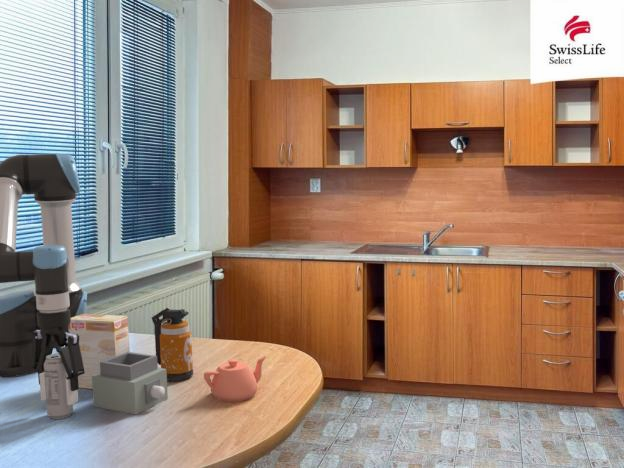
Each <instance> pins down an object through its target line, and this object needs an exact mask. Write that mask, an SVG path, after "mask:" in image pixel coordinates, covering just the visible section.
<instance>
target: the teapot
mask: <svg viewBox="0 0 624 468" xmlns="http://www.w3.org/2000/svg"><path fill="white" fill-rule="evenodd" d="M266 358H267V355H263V356H261V357H259V359H258V360H257V361H256V364H255V369H254V370H253V371H252V369H251V368H250V366H249V365H248V364H247V363H245V362H241V361H239V360H238V359H235V358H233V359H229V360H227V362H224V363H222V364H219V366H218V367H217V369H216V371H215V370H209V371H207V370H206V371H205V372H204V374H203V379H204V381H205V383H206V385H208V387H210V392H211V394H212V395H213V397H214V398H215V399H216V400H217V401H220V402H223V403H239V402H243V401H247V400H250V399H252V398H253V397H254V396H255V395H256V393H257V391H258V383H259V382H260V381H261V377H262V372H263V371H262V366H263V362H264V360H265V359H266ZM211 376H212V379H211Z"/></svg>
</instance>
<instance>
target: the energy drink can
mask: <svg viewBox="0 0 624 468" xmlns="http://www.w3.org/2000/svg"><path fill="white" fill-rule="evenodd" d="M44 376H45V391H46V399H45V402H46V405H45V406H46V414H47V416H49V418H50V419H51V418H53V419H52V420H62V418H63V419H67V418H69V417H70V416H71V415H72V413H73V411H74V403H73V404H71V405H67V392H66V378H67V377H68V375H67V372H66V370H65V367H64V364H63V362H62V359H61V357H60V354H59V353H58V352H56V353H52V354H51V355H48V356H46V360H45V362H44Z"/></svg>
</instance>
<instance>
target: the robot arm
mask: <svg viewBox="0 0 624 468" xmlns="http://www.w3.org/2000/svg"><path fill="white" fill-rule="evenodd" d="M76 165H77V164H76V160H75V158H74V157H73V156H72V155H71V154H67V153H65V154H64V153H47V154H46V153H43V154H40V153H39V154H15V155H12V156H9V157H8V158H6V159H4V160H2V161H1V162H0V284H6V283H16V282H18V283H19V282H31V281H32V282H33V281H34V285H35V286H34V287H35V292H34V291H33V290H21V291H15V292H12V293H11V292H10V293H7V294H4V295H1V296H0V377H1V378H3V377H4V378H5V377H6V378H11V377H20V376H26V375H31V374H33V373H37V376H38V385H39V392H40V401H41V400H42V401H43V400H46V391H45V376H44V362H45V360H46V356H48V355H51V354H53V351H54V349H55V350H56V353H59V354H60V357H61V359H62V362H63V364H64V367H65V370H66V372H67V375H68V377H67V378H66V392H67V405H71V404H73V405H74V404H76V403H78V402H79V397H78V396H79V393H78V392H79V391H78V390H79V384H78V376H80V375H82V374H84V373H85V371H84V366H83V361H82V356H81V351H80V346H79V334H75V335H73V334H70V332H69V328H68V326H69V324H70V323H71V318H72V317H75V316H78V315H81V314H87V304H88V303H87V299H88V292H87V291H85V290H83V288H82V285H81V284H80V283H79V282H78V281H77V275H76V272H77V271H76V261H75V260H76V259H75V243H74V229H73V228H74V227H73V216H72V215H73V214H72V204H73V203H74V202H75V201H76V200H77V194H79V193H81V187H80V179H79V175H78V171H77V170H78V169H77V166H76ZM23 195H27V196H28V195H33V199H34V202H35V203H36V204H38V205H39V206H40V217H41V229H42V231H41V232H42V244H43V245H41V246H36V247H34V249H33V250H26V251H25V250H24V251H16V250H17V248H16V247H17V229H18V213H19V212H18V210H19V201H20V200H21V198H22V197H23ZM72 371H73V373H72Z"/></svg>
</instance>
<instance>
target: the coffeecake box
mask: <svg viewBox="0 0 624 468" xmlns="http://www.w3.org/2000/svg"><path fill="white" fill-rule="evenodd" d="M128 319H129V317H128V315H116V314H115V315H114V314H113V315H112V314H92V313H86V314H81V315H78V316H75V317H72V318H71V323H70V324H69V326H68V328H69V332H70V334H73V335H75V334H79V346H80V351H81V356H82V361H83V366H84V371H85V373H84V374H82V375H80V376H78V384H79V388H82V389H87V390H88V389H89V390H91V389H92V390H93V386H92V376H93V375H95V374H98V373H100V362H102V361H104V360H107V359H110V358H112V357H115V356H118V355H120V354H123V353H126V352H131V351H130V335H129V334H130V333H129V320H128ZM72 373H73V371H72ZM79 388H78V389H79Z"/></svg>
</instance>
